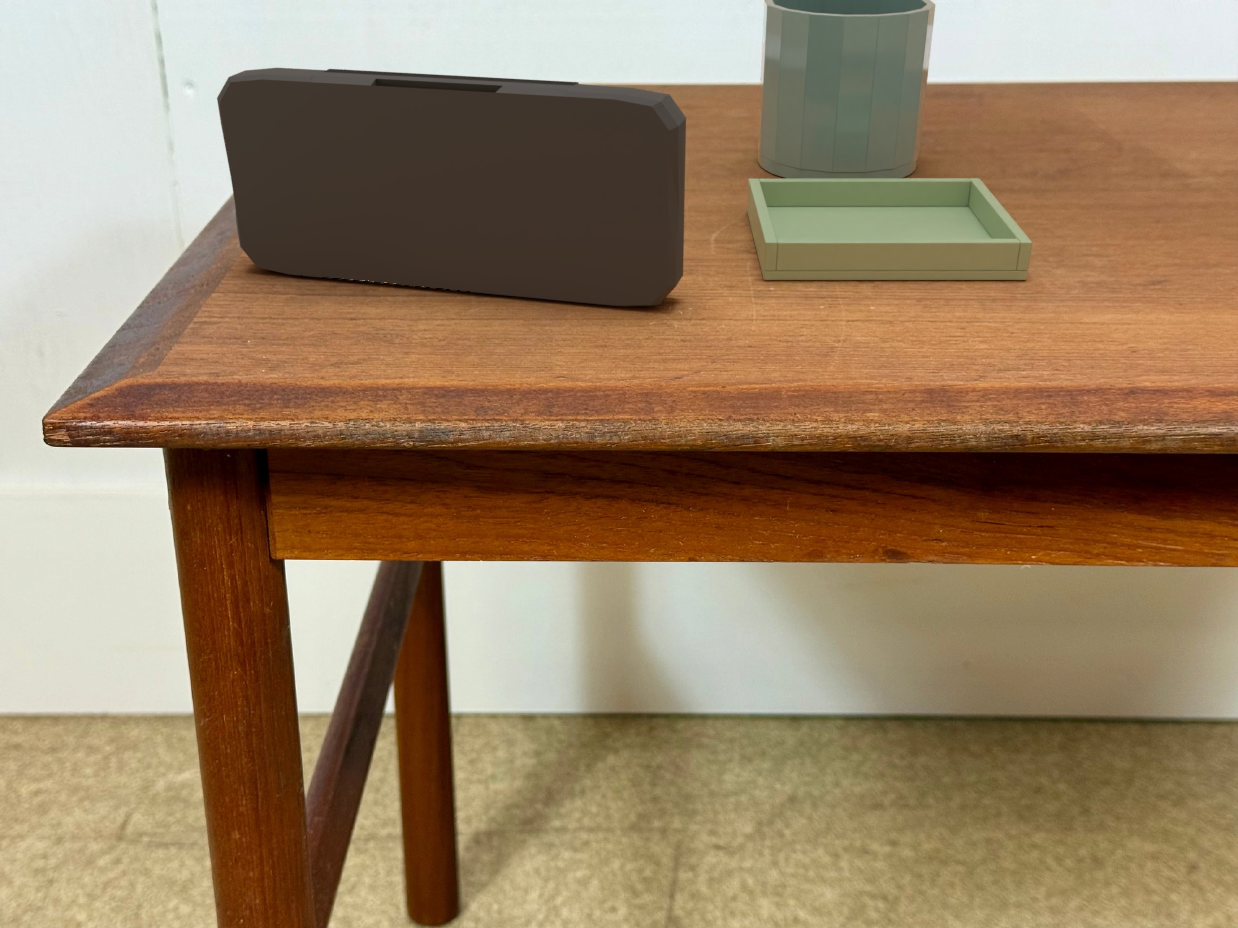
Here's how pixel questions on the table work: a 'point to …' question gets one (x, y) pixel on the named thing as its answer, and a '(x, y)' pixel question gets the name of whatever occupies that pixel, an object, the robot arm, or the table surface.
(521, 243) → the chamfered brown slab
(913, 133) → the crock
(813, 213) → the tray
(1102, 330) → the table surface
